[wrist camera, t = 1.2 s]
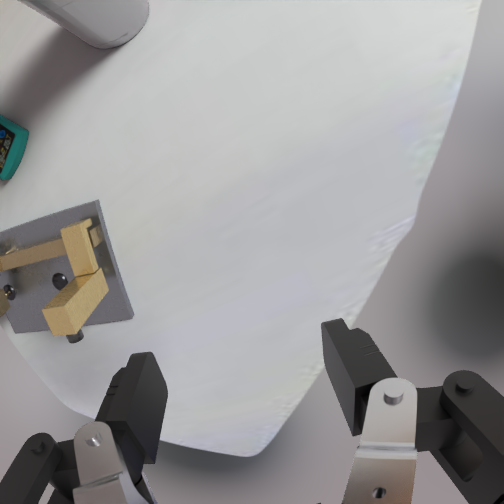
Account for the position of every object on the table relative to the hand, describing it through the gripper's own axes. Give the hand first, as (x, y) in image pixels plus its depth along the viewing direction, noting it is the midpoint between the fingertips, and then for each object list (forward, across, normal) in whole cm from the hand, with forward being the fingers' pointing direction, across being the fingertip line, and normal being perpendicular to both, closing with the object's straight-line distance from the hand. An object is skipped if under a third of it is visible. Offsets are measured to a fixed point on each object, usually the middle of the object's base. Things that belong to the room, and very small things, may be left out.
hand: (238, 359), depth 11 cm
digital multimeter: (+28, +32, -19) cm, 47 cm away
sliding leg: (+26, +18, +2) cm, 31 cm away
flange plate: (+28, +27, +3) cm, 39 cm away
